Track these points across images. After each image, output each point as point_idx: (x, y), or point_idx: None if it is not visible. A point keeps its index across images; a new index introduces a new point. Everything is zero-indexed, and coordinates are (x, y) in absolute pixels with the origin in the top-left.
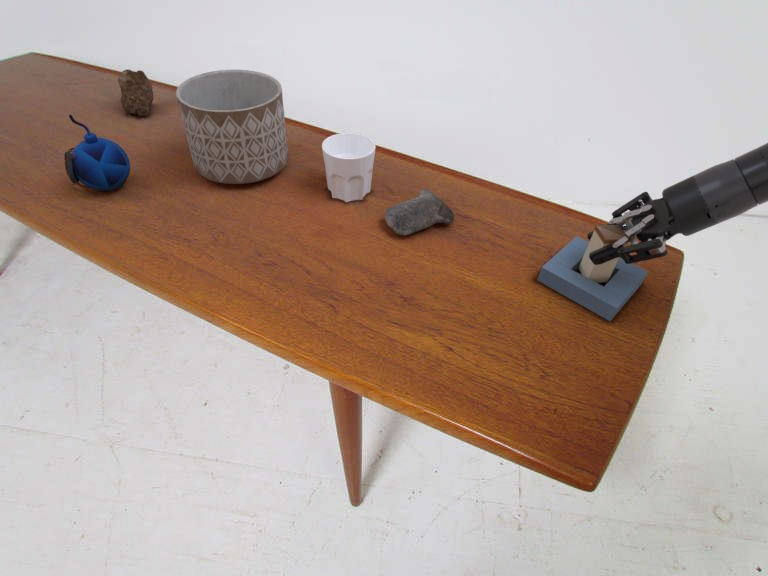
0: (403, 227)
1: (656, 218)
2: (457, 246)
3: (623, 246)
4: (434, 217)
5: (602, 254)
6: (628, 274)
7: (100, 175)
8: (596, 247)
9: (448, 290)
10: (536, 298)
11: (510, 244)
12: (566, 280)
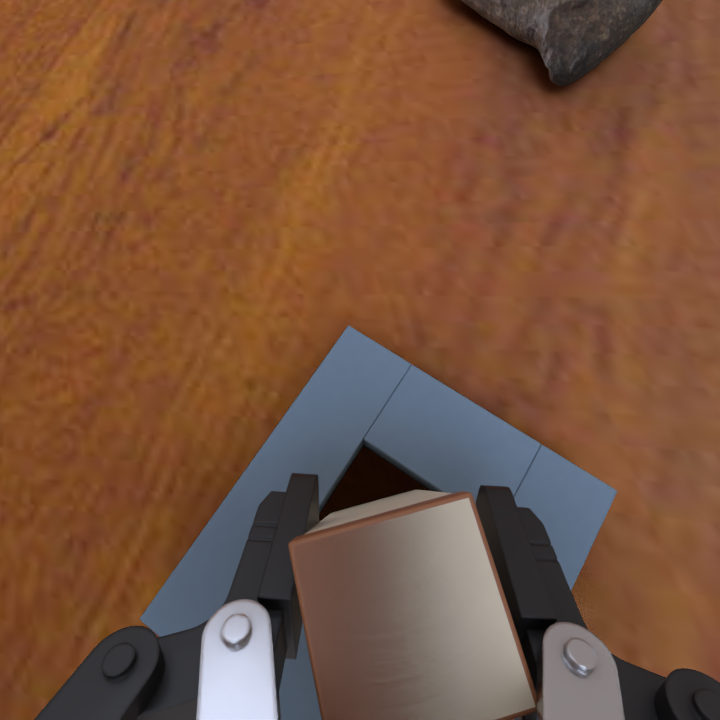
0: None
1: None
2: (456, 122)
3: (196, 695)
4: (534, 9)
5: (258, 536)
6: None
7: None
8: (358, 516)
9: (256, 115)
10: (261, 342)
11: (523, 267)
12: (285, 414)
